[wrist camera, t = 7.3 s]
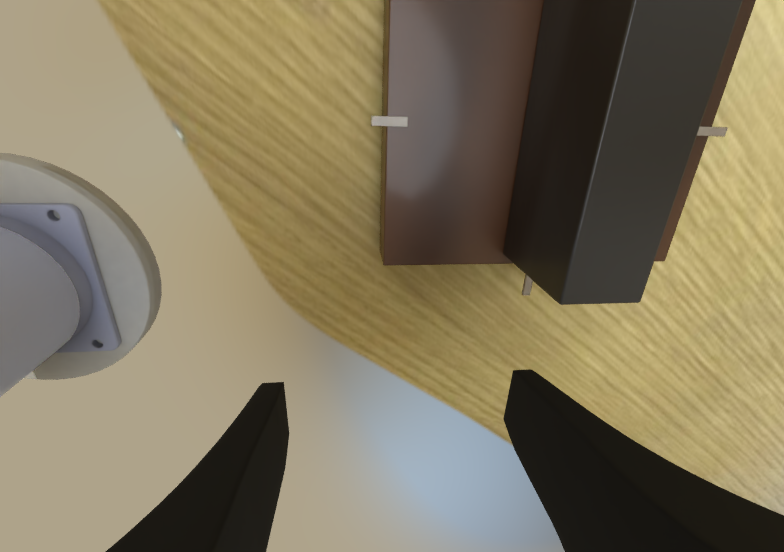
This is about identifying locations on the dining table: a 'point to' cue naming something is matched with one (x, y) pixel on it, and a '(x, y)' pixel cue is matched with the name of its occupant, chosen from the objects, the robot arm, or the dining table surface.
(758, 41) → the dining table surface
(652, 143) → the gray bar
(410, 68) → the brown pegged board
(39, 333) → the robot arm
